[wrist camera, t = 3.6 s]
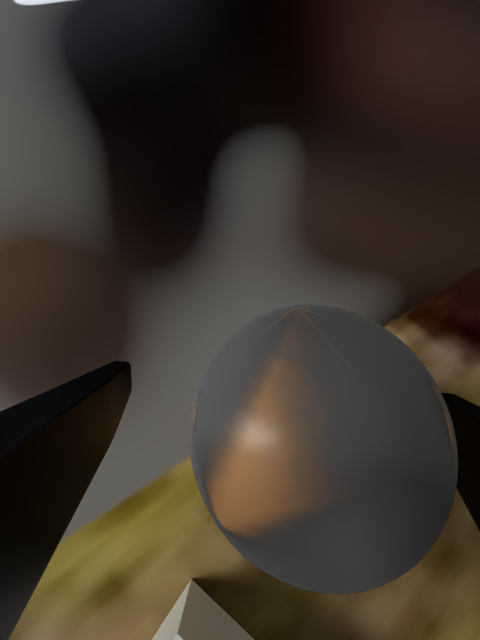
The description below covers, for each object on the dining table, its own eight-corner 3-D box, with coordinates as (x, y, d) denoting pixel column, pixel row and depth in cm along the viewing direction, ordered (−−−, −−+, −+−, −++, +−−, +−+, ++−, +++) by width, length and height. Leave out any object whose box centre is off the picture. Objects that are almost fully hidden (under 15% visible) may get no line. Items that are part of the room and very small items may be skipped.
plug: (314, 430, 15) (495, 400, 5) (266, 507, 14) (382, 681, 4) (247, 380, 16) (286, 264, 6) (196, 448, 15) (130, 454, 4)
